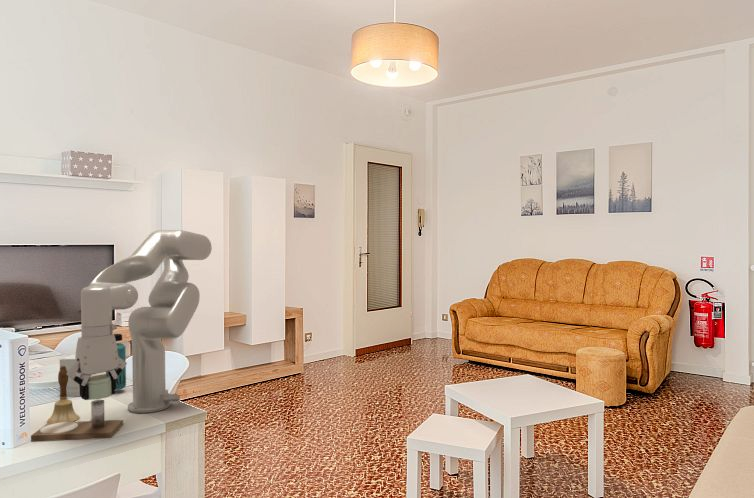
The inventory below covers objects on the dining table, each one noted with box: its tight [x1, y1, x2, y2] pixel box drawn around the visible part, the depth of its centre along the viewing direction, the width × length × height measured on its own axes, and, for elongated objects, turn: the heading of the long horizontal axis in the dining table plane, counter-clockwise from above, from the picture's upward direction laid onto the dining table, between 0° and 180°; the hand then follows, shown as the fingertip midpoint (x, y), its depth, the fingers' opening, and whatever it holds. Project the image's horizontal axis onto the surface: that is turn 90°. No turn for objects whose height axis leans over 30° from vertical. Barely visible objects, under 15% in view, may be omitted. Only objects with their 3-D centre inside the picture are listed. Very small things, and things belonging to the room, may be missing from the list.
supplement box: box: [59, 354, 93, 397], centre depth 190 cm, size 7×7×13 cm
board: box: [30, 419, 124, 442], centre depth 153 cm, size 20×10×2 cm, turn 97°
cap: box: [87, 373, 113, 401], centre depth 154 cm, size 6×6×6 cm
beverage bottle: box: [105, 333, 127, 391], centre depth 192 cm, size 6×7×20 cm
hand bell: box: [46, 366, 80, 424], centre depth 163 cm, size 8×8×16 cm
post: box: [90, 399, 105, 429], centre depth 153 cm, size 3×3×7 cm
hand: (98, 395), depth 153 cm, fingers closed on cap, 6 cm apart
